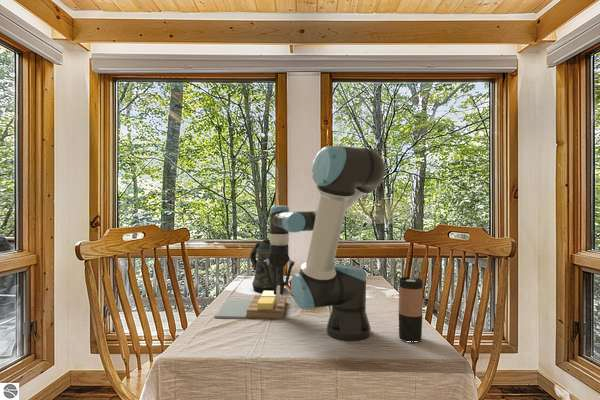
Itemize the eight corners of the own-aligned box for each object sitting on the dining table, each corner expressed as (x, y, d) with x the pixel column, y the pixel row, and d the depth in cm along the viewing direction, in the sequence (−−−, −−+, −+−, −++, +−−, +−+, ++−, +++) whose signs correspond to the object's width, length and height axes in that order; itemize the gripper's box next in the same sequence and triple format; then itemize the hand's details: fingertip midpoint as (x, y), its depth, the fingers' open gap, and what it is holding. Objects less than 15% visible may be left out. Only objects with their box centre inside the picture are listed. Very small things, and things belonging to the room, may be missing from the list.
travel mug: (406, 344, 121) (407, 282, 121) (394, 336, 128) (394, 277, 128) (427, 342, 123) (427, 281, 123) (413, 334, 131) (414, 276, 130)
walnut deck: (282, 318, 146) (282, 310, 146) (246, 317, 146) (246, 310, 146) (286, 302, 168) (286, 295, 168) (255, 302, 168) (255, 295, 168)
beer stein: (281, 294, 183) (281, 242, 183) (242, 292, 186) (242, 241, 186) (287, 286, 199) (288, 239, 199) (251, 284, 202) (252, 238, 202)
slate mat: (245, 318, 145) (245, 316, 145) (214, 318, 146) (214, 316, 146) (254, 301, 169) (254, 299, 169) (228, 301, 170) (228, 299, 170)
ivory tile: (275, 302, 158) (275, 296, 158) (261, 301, 158) (261, 295, 158) (277, 296, 167) (277, 290, 167) (263, 296, 167) (263, 290, 167)
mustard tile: (272, 309, 147) (272, 303, 147) (257, 309, 147) (257, 303, 147) (274, 303, 156) (274, 297, 156) (260, 303, 156) (260, 297, 156)
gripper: (295, 243, 155) (295, 300, 155) (264, 242, 156) (263, 299, 156) (294, 245, 148) (294, 305, 148) (261, 244, 148) (260, 304, 148)
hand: (278, 302), depth 152 cm, fingers closed
